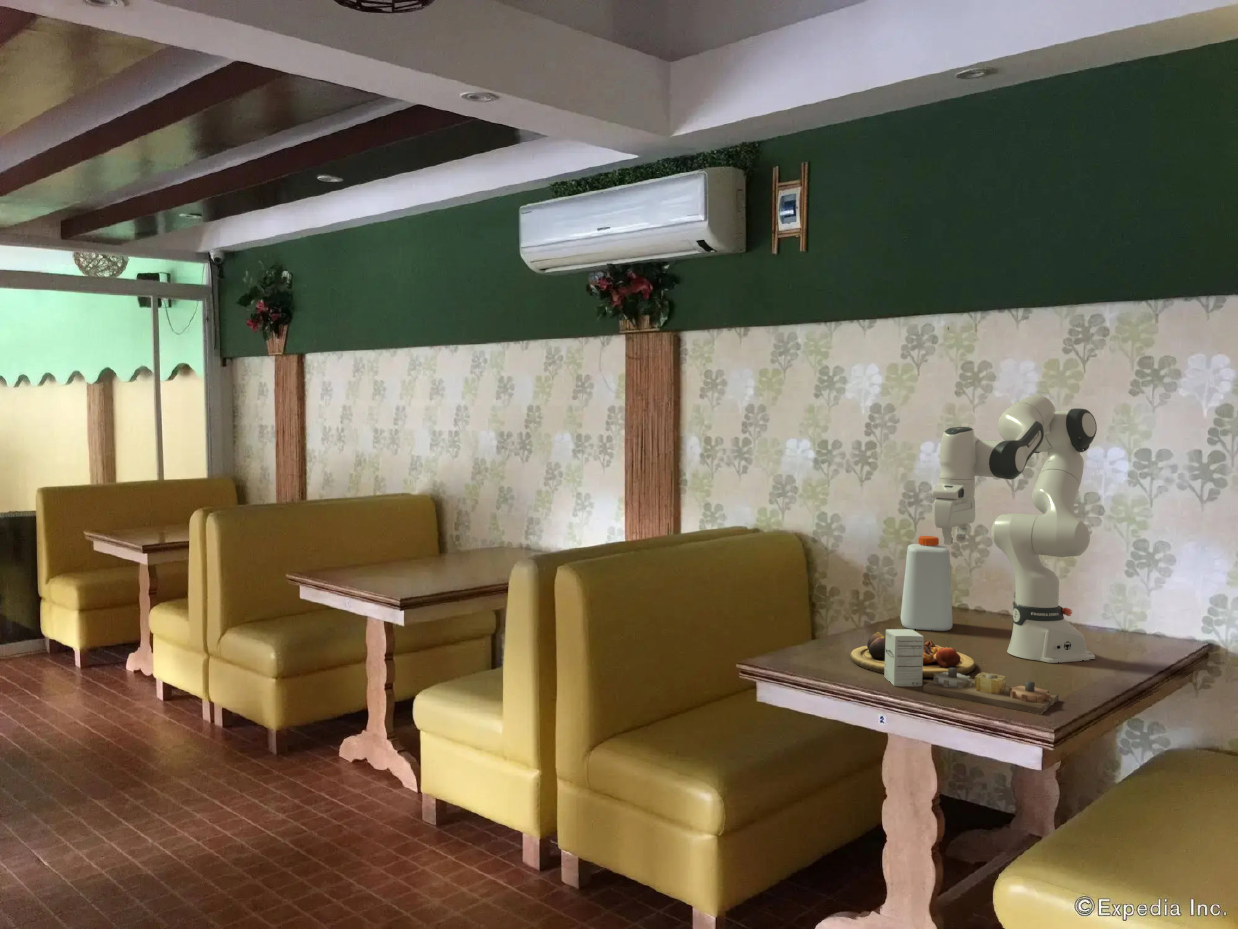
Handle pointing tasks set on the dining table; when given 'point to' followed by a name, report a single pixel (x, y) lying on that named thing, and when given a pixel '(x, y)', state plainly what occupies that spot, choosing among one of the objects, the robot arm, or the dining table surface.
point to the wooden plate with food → (933, 657)
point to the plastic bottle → (927, 586)
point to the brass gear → (990, 683)
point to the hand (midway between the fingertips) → (954, 542)
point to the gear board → (1010, 698)
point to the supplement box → (904, 657)
